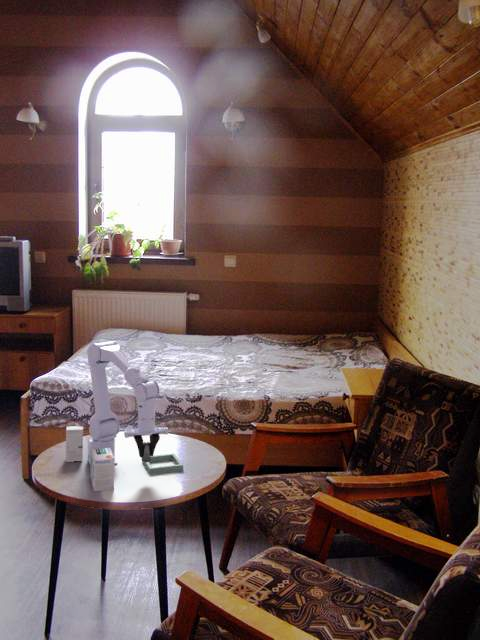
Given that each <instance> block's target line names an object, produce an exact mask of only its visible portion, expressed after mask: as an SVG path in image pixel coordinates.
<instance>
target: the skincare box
mask: <svg viewBox="0 0 480 640" xmlns="http://www.w3.org/2000/svg"><path fill="white" fill-rule="evenodd" d="M83 443H84V426H83V425H79V426H78V425H77V426H76V425H75V426H74V425H73V426H66V429H65V462H66V463H73V462H74V461H81V462H83V455H84V454H83V450H84V449H83V448H84V447H83V446H84V445H83Z"/></svg>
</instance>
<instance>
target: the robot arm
mask: <svg viewBox="0 0 480 640" xmlns="http://www.w3.org/2000/svg"><path fill="white" fill-rule="evenodd" d="M86 352H87V360H88V366H89V369H90V378H91V385H92V386H91V387H92V388H91V389H92V395H93V402H94V410H95V411H94V412H95V413H94V414H93V415H92V416H91V417H90V418H89V426H88V432H89V435H90V437H91V439H88V441H87V462H88V464H89V466H90V467H91V449H102V448H110V449H111V451H112V454H113V456H114V465H117V464H118V461H117V459H116V457H115V456H116V455H115V452H116V451H115V450H116V449H115V446H116V444H115V443H116V441H115V440H116V439H115V438H117V435H118V434H119V433H120V428H121V427H120V423H119V421H118V416H117V414H116V413H115V412H113V411H112V410H111V404H110V396H109V395H110V394H109V387H108V380H107V379H108V378H107V372H106V368H107V366H108V365H109V364H110V363H112V364H113V365H115V366H116V367H117V368H118V370H120V371H121V372H122V373H123V374H124V375H123V378H124V380H125V381H126V382H127V384H129V385H130V387H132V389H133V390H134V395H135V396H134V397H135V398H136V405H137V428H132V429H126V430H124V431H123V433H124V438H125V439H127V438H128V439H129V438H132V437H133V439H134V440H135V444H136V446H137V450H138V456H139V457H140V458H142V457H143V450H142V448H143V442H144V439H143V436H144V437H146V436H149V442H150V443H151V456H154V452H155V449H156V446H157V444H158V443H159V441H160V439H161V437H160V435H169V428H168V427H167V426H164V427H163V426H161V427H160V426H158V427H157V426H156V398H157V397H159V394H160V386H159V385H158V383H157V381H156V380H153V379H150V378H149V379H148V377H147V376H146V375H144V373H143V372H142V371H141V370H140V368H139V367H138V366H132V365H131V364H130V362H129V361H128V359H127V358H126V357H125V356H124V354H123V353H122V349H121V346H120V344H119V343H118V342H117V341H116V340H110V341H104V342H103V341H102V342H97V343H96V342H95V343H91V344H90V345H89V346H88V348H87V349H86Z"/></svg>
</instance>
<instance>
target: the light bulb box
mask: <svg viewBox="0 0 480 640" xmlns="http://www.w3.org/2000/svg"><path fill="white" fill-rule="evenodd" d="M90 481H91V486H92V490H93V492H101V491H100V490H102V491H110V490H111V491H112V490H115V464H114V456H113V454H112V451H111V449H110V448H102V449H91V466H90Z"/></svg>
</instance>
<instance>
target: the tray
mask: <svg viewBox="0 0 480 640" xmlns="http://www.w3.org/2000/svg"><path fill="white" fill-rule="evenodd" d="M167 461H173V463H174V464H172V465H171V464H170V465H163V466H161V465H160V466H155V467H154V466H152V465H151V463H155V462H167ZM142 464H143V465H144V468H146V470H147V472H148V474H149V475H155V474H163V473H174V472H182V471H184V464H183V463H182V461H181V460H180V459H179V458H178V456H177V455H176V453H167V454H166V453H165V454H159V455H158V454H157V455H156V454H155V455H153V456H151V461H149V462H142Z"/></svg>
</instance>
